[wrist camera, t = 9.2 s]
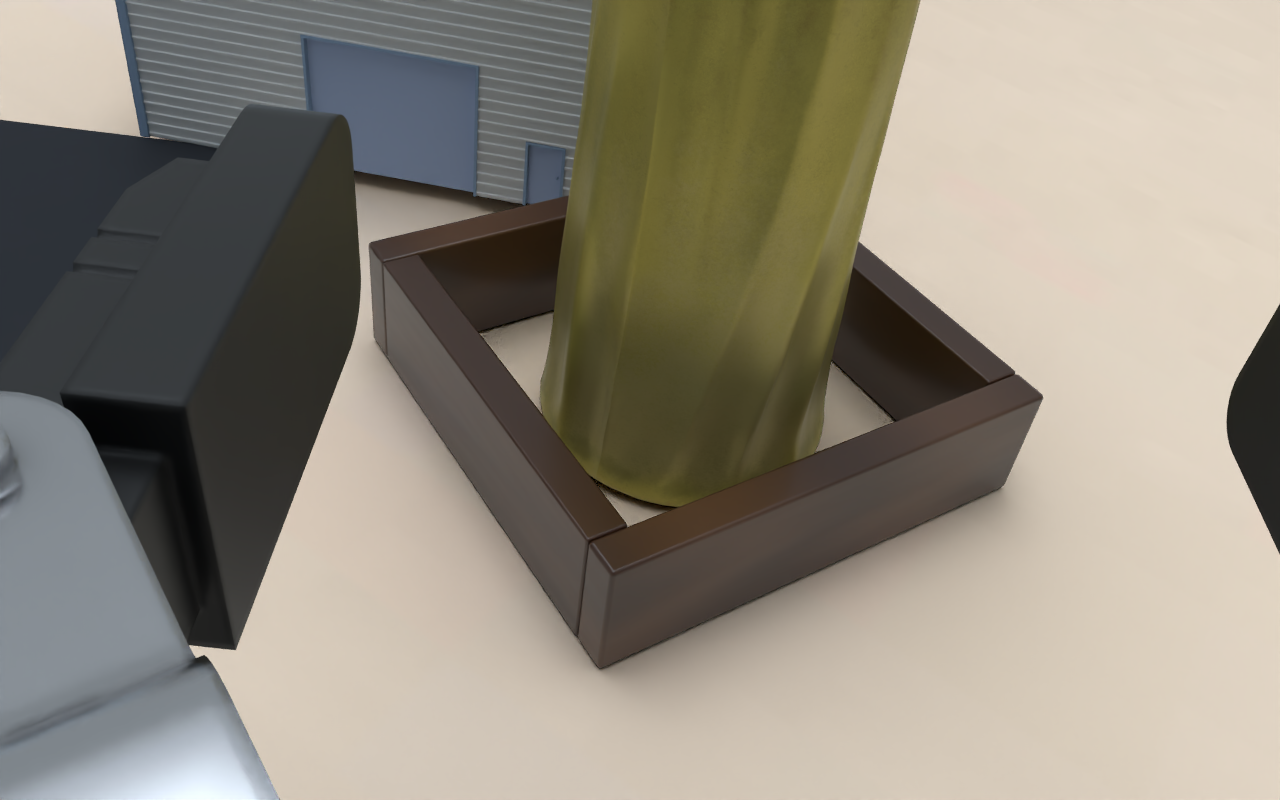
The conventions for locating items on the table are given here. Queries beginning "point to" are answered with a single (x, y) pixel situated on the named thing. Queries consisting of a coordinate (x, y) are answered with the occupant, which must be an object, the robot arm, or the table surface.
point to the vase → (714, 233)
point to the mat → (61, 204)
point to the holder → (718, 523)
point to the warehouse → (378, 81)
